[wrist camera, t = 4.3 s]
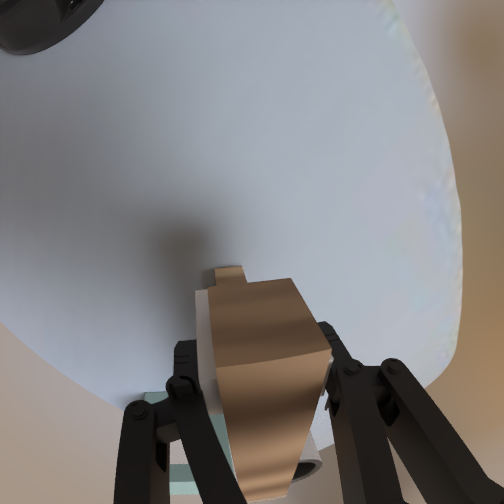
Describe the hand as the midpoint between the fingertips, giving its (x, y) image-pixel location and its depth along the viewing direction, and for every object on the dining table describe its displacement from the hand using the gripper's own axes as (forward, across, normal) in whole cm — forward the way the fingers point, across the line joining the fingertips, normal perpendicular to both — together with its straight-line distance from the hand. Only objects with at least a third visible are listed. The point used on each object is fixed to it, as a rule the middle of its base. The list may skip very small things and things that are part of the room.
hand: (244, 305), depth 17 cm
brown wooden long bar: (-2, 0, -8) cm, 8 cm away
